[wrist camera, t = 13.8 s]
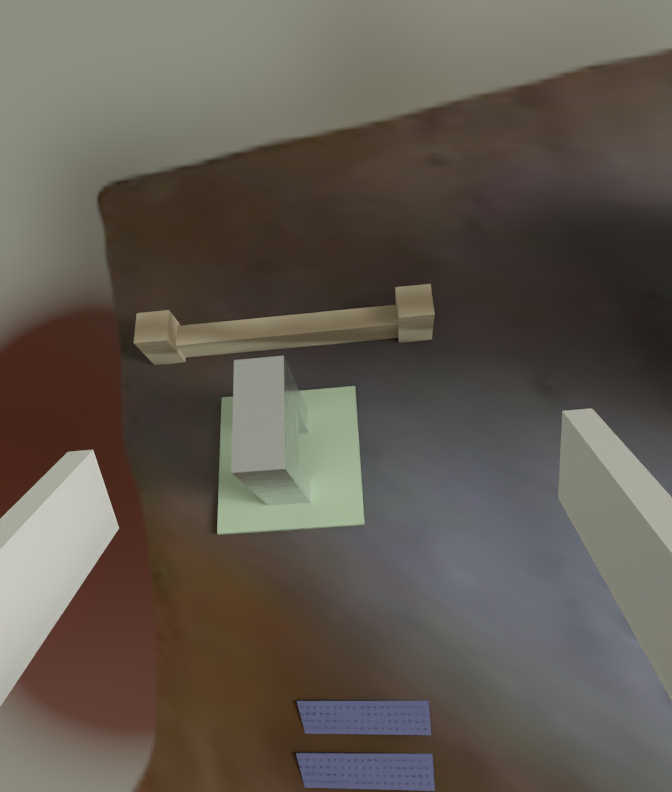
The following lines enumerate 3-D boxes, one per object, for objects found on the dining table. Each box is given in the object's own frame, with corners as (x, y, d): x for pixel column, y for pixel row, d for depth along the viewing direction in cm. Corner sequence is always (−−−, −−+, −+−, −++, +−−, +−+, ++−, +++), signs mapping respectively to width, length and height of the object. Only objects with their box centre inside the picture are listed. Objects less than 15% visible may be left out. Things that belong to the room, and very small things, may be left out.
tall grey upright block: (268, 414, 48) (234, 360, 38) (308, 411, 48) (283, 355, 38) (268, 505, 45) (231, 472, 35) (311, 502, 45) (285, 468, 35)
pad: (223, 399, 50) (221, 397, 50) (355, 388, 49) (354, 385, 49) (219, 534, 46) (217, 533, 45) (364, 525, 45) (364, 523, 44)
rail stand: (157, 337, 53) (136, 313, 49) (428, 310, 51) (430, 283, 47) (154, 365, 52) (133, 343, 48) (431, 339, 50) (434, 314, 46)
